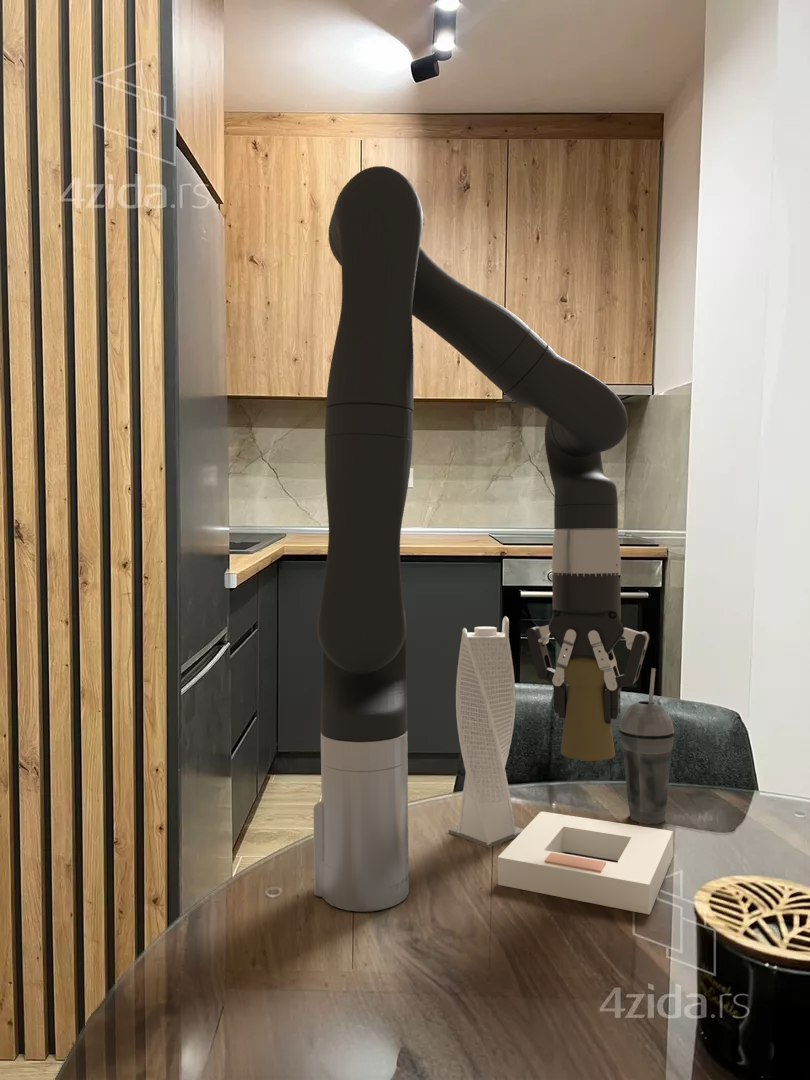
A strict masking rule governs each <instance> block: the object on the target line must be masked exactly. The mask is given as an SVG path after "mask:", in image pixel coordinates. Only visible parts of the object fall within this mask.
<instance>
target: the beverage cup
mask: <svg viewBox="0 0 810 1080" xmlns="http://www.w3.org/2000/svg"><path fill="white" fill-rule="evenodd" d="M656 671H657V669H656V668H653V667H651V672H650V683H649V694H648V701H647V700H641V701H637V702H634V703H633V704H630V706H629V707H628V708H626V709H625V711H624V712H623V714H622V715H621V718H620V722H619V728H618V733H619V739H620V743H621V747H622V752H623V762H624V773H625V774H624V775H625V783H626V784H625V786H626V795H627V803H628V804H627V805H628V811H629V818H630V819H631V820H632V821H635V822H637V823H641V824H648V825H649V824H650V825H655V824H656V825H657V824H661V823H664V822H665V820H666V812H667V811H666V810H667V805H668V795H669V792H668V790H669V784H670V783H669V780H670V768H671V757H672V756H671V755H672V750H673V746H674V741H675V735H676V732H675V729H674V723H673V720H672V718H671V716H670V714H669V713H668V712H667V711H666V710H665V708H664V707H663V706H662V705H660V704H658V703H656V702H654V692H655V691H654V689H655V681H656V680H655V679H656V678H655V677H656Z"/></svg>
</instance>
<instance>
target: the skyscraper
mask: <svg viewBox="0 0 810 1080" xmlns="http://www.w3.org/2000/svg"><path fill="white" fill-rule="evenodd" d="M509 625H510V621H509V618H508V617H507V616H506V615H505V616H504V617H503V618H502V623H501V627H502V628H501V632H498V630H497V629H498V627H497V626H496V627H495V626H476V627H474V628H473V629H474V630H473V631H474V632H471V631H470V632H469V631H468V630H467V628H466V627H463V628H462V631H461V632H462V634H461V639H460V640H461V641H460V646H459V652H458V653H459V654H458V663H457V670H456V671H457V672H456V684H455V685H456V686H455V712H456V713H455V715H456V724H457V733H458V740H459V746H460V752H461V758H462V761H463V767H464V771H465V776H464V782H463V788H462V797H461V803H460V804H461V805H460V811H459V818H458V825H455V826H454V827H451V828H448V833H449V834H451V835H454V836H457V837H459V838H462V839H464V840H468V841H470V842H473V843H474V844H478V845H480V846H483V847H486V848H488V849H490V848H492V847H495V846H498V845H500V844H503V843H505V842H508V841H510V840H514V839H515V838H516V837H517V836H518V835H519V834H520V833H521V832H522V831H523V830H524V829H525V828H522V827H518V826H516V823H515V816H514V809H513V805H512V804H513V803H512V800H511V799H512V798H511V793H510V787H509V783H508V778H507V773H506V769H505V768H506V765H507V762H508V757H509V752H510V748H511V744H512V738H513V733H514V726H515V716H516V715H515V714H516V682H515V681H516V680H515V672H514V671H515V670H514V665H513V658H512V657H513V656H512V655H513V654H512V650H511V649H512V648H511V643H510V642H511V641H510V637H509V636H510V635H509V633H510V631H509V630H510V626H509Z"/></svg>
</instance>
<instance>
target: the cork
mask: <svg viewBox="0 0 810 1080" xmlns="http://www.w3.org/2000/svg"><path fill="white" fill-rule="evenodd" d="M602 660H603V659H602ZM564 676H565V681H566V682H567V684H568V693H567V702H566V712H565V719H563V720H564V721H563V727H562V728H563V729H562V737H561V745H560V754H561V755H562V756H564V757H565V758H568V759H571V760H578V761H586V762H587V761H589V762H591V761H593V762H596V761H597V762H598V761H607V760H610V759H613V758H615V757H616V751H615V744H614V737H613V730H612V724H607V723H605V711H604V691H605V690H606V689H607V687H606V683H605V680H604V672H603V671H601V670H600V669H599V666H598V663H597V660H594V659H590V658H574V659H571V658H570V661H569V663H568V665H567V667H566V668H564Z"/></svg>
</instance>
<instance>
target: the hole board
mask: <svg viewBox="0 0 810 1080" xmlns="http://www.w3.org/2000/svg"><path fill="white" fill-rule="evenodd" d="M523 829H524V830H523V831H522V832H521V833H520V834H519V835H518V836H517V837H515V838H513V839H512V842H510V843H509V845H508V846H507V847H506V848H505V849H504V850H503V851H502V852H500V854H499V855H498V857H497V885H498V886H504V887H509V888H514V889H518V890H523V891H529V892H534V893H538V894H539V893H540V894H544V895H548V896H553V897H554V896H555V897H558V898H559V897H560V898H563V899H564V898H565V899H569V900H574V901H579V902H584V903H589V904H594V905H600V906H604V907H610V908H615V909H618V910H625V911H630V912H635V913H640V914H645V915H650V914H651V912H652V910H653V907H654V905H655V902H656V900H657V897H658V894H659V893H660V890H661V887H662V885H663V883H664V880H665V878H666V876H667V872H668V871H669V868H670V865H671V863H672V861H673V858H674V831H673V830H667V829H661V828H654V827H647V826H640V825H634V824H627V823H620V822H615V821H614V822H613V821H609V820H608V821H607V820H602V819H596V818H595V819H594V818H589V817H582V816H576V815H575V816H574V815H568V814H560V813H556V812H555V813H554V812H548V811H540V812H538V814H537V815H536V816H535V817H534V818H533V819H532V820H531V821H530V822H529V823H528V824H527V826H526V827H524V828H523ZM568 853H571V854H568ZM574 854H577V855H574ZM580 855H581V856H580ZM582 855H583V856H582ZM585 856H587V857H585ZM588 856H589V857H588ZM592 857H593V858H592ZM597 858H599V859H597ZM603 859H606V860H603ZM608 860H612V861H608ZM616 861H617V862H616ZM650 916H651V915H650Z"/></svg>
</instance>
